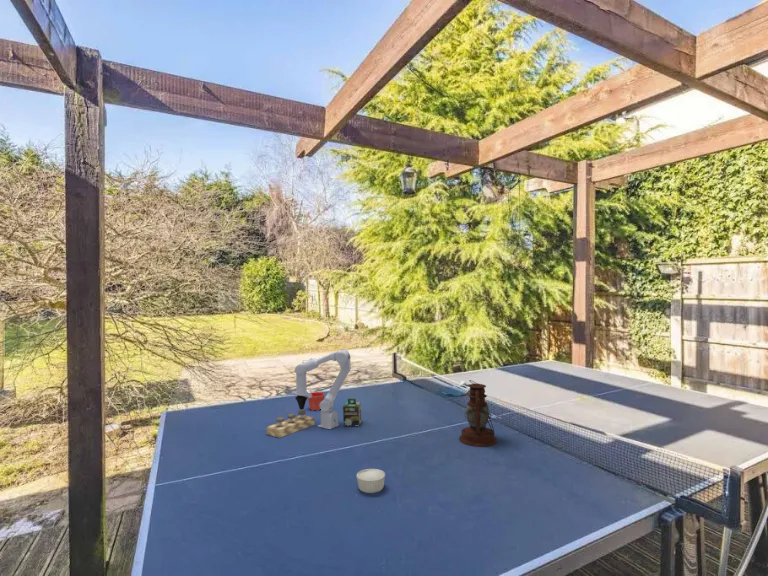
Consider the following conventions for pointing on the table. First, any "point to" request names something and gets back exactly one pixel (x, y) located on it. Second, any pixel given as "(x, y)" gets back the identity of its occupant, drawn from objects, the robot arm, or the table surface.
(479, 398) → the lantern
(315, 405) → the flower pot
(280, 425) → the plunger
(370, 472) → the ramekin
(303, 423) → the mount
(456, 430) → the table surface
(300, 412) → the plunger
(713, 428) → the table surface
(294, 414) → the plunger
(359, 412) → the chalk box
